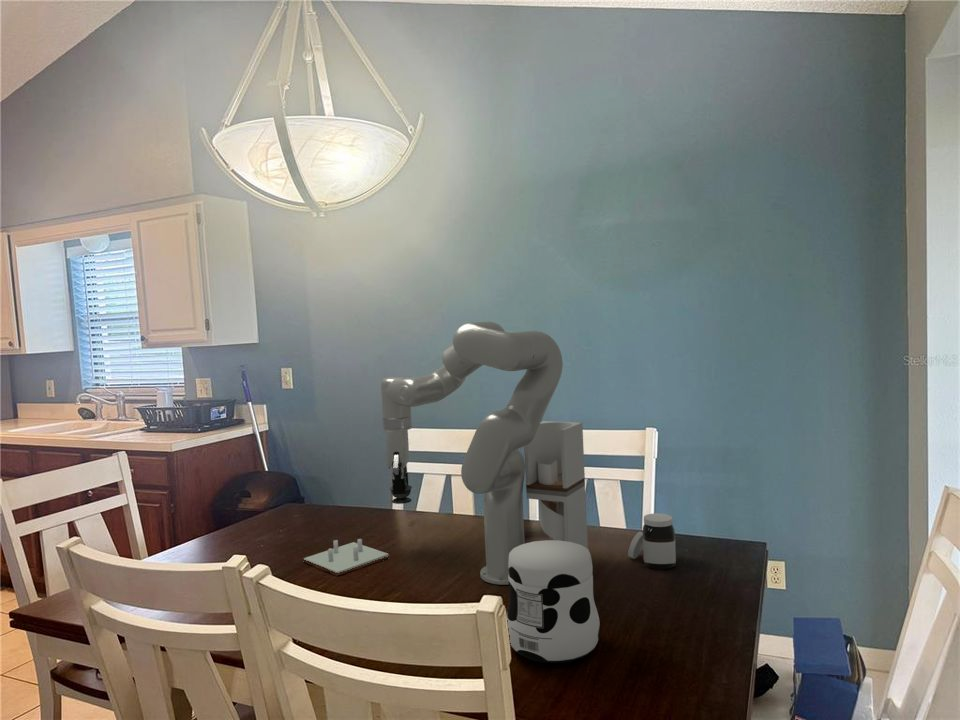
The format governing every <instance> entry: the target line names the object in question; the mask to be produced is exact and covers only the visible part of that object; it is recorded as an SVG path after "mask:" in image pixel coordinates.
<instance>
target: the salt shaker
mask: <svg viewBox="0 0 960 720" xmlns="http://www.w3.org/2000/svg"><path fill="white" fill-rule="evenodd" d="M401 464H402V463H401ZM399 467H402V465H399ZM400 471H401V470H400ZM407 473H408V472H405V467H404V478H405V494H393V486H390V488H389V490H390V492H391V495H392V497H394V498H393V499H391V503H392V504H396V505H404V504H408V503H410V502H412V499H411V498H410V497H408V496H410V495H411V491H412V490H411V489H412V488H413V487H412V486H411V485H410V484H408V485H407V482H406V474H407Z"/></svg>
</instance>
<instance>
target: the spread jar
mask: <svg viewBox="0 0 960 720" xmlns="http://www.w3.org/2000/svg"><path fill="white" fill-rule="evenodd" d="M673 521H674V520H673V516H671V515H669V514H665V513H656V512H655V513H649V514H645V515H644V516H643V523H644V524H643V526H642V531H638V532H637V533H636V534H634V537H633V538H632V540H631V542H630V544H629V547H628V552H627V555H628V557H629V558H631V559H633V560H635V559H637V558H638V557H639V556H640V554H641V552H642V555H643V556H642V557H643V563H644V565H645V566H646V567H647V568H651V569H654V570H668V569H671V568H674V567H675V566H676V564H677V563H676V562H677V556H676V553H677V551H676V531H675V528H674V525H673Z"/></svg>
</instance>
